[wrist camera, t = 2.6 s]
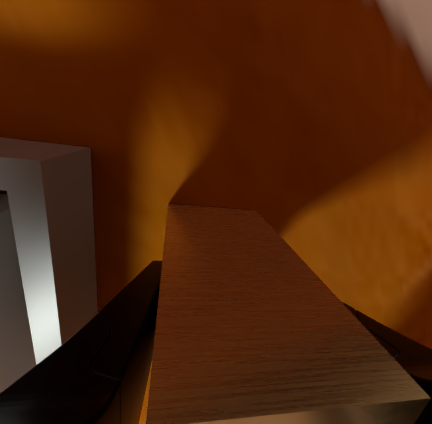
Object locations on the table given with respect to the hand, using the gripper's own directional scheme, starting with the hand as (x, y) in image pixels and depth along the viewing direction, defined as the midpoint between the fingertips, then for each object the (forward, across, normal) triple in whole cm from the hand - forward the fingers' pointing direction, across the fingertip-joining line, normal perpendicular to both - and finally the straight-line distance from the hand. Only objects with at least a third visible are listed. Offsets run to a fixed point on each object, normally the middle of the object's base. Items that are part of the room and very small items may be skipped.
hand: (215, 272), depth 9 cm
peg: (+2, 0, 0) cm, 2 cm away
